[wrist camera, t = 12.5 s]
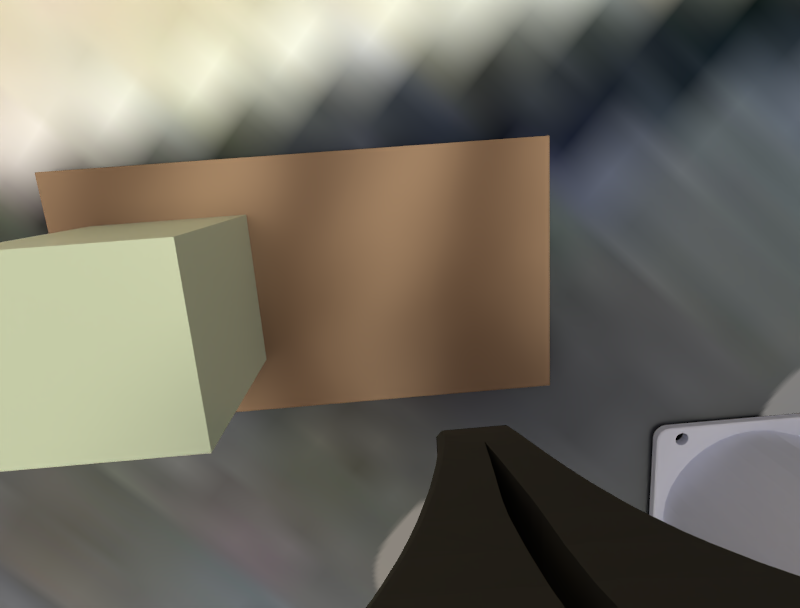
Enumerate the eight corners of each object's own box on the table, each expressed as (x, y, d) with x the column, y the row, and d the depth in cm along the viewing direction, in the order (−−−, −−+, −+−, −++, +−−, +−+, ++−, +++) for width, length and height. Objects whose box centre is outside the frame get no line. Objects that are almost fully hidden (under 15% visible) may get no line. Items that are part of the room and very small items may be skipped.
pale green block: (246, 214, 18) (173, 236, 11) (266, 359, 19) (211, 453, 13) (90, 226, 18) (-72, 255, 11) (121, 371, 19) (-9, 472, 12)
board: (540, 138, 19) (549, 135, 18) (541, 375, 21) (549, 385, 20) (52, 172, 18) (34, 172, 17) (106, 412, 20) (93, 424, 19)
